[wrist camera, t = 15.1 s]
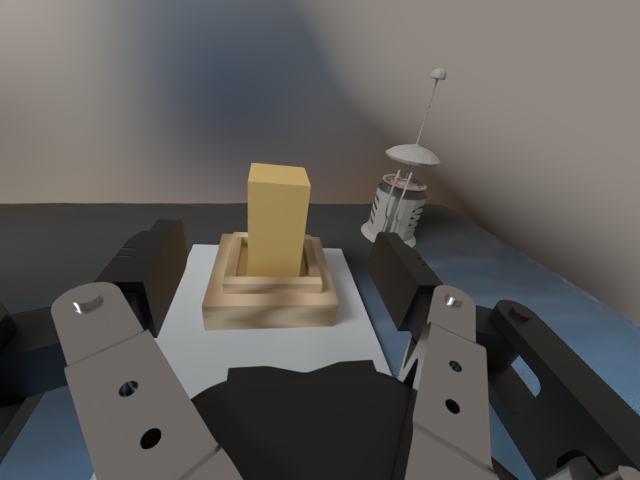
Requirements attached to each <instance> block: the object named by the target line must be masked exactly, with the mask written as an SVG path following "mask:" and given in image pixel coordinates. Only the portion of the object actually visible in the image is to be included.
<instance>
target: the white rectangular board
mask: <svg viewBox="0 0 640 480" xmlns="http://www.w3.org/2000/svg"><path fill="white" fill-rule="evenodd" d="M218 248H219V245H193V247H192V250H191V252H190V254H189V257H188V259H187V265H186V269H185V272H184V274H183V277H182V279H181V281H180V284H179V286H178V289H177V291H176V294H175V296H174V298H173V301H172V303H171V306H170V308H169V311H168V313H167V316H166V318H165V320H164V323H163V325H162V328H161V330H160V333H159V335H158V337H157V338H154V339H155V341H156V343H157V344H158V346H159V348H160V349H161V351H162V353H163V354H164V356H165V358H166V359H167V361H168V363H169V364H170V366H171V368H172V369H173V371H174V373H175V374H176V376H177V378H178V379H179V381H180V383H181V384H182V386H183V388H184V389H185V391H186V393H187V394H188V396H189V398H190V399H191V398H193V397H194V396H196V395H197V394H199V393H200V392H202V391H204V390H205V389H207V388H209V387H211V386H213V385H216V384H218V383H220V382H223V381H226V380H227V374H228V368H235V367H252V366H272V367H277V368H282V369H288V370H293V371H298V372H310V371H313V370H316V369H319V368H322V367H325V366H328V365H331V364H334V363H337V362H340V361H357V360H373V362H374V365H375V368H376V371H378V372H382V373H385V374H388V375H390V376H392V375H391V372H390V370H389V367H388V365H387V362H386V360H385V357H384V355H383V352H382V350H381V347H380V345H379V342H378V340H377V337H376V335H375V332H374V330H373V327H372V325H371V322H370V320H369V317H368V315H367V312H366V310H365V307H364V305H363V302H362V300H361V297H360V295H359V292H358V290H357V288H356V285H355V283H354V280H353V278H352V275H351V273H350V270H349V268H348V265H347V263H346V260H345V258H344V255H343V253H342V250H341V249H329V248H322V249H323V252H324V255H325V259H326V262H327V265H328V269H329V272H330V276H331V279H332V282H333V286H334V289H335V292H336V296H337V299H338V303H339V307H338V311H337V315H336V319H335V323H334V326H331V327H301V328H271V329H241V330H211V331H205V330H204V322H203V314H202V303H203V300H204V297H205V293H206V290H207V286H208V283H209V279H210V276H211V272H212V269H213V266H214V262H215V259H216V255H217V252H218ZM91 480H96V477H95V473H93V475H92V478H91Z"/></svg>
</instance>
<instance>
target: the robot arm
mask: <svg viewBox="0 0 640 480" xmlns="http://www.w3.org/2000/svg"><path fill="white" fill-rule="evenodd" d="M186 265H187V248H186V241H185V233H184V225H183V222H182V220H175V219H158V220H157V221H156V223H155V224H154V225H153V227H152V228H151V230H150V231H141V232H139V233H138V234H136V235H134V236H133V237H131V238H129V240H128V241H127V242H126V243H125V244H124V246H123V247H122V249H120V251H119V252H118V253H117V254H116V257H114V258H113V259H112V260H111V262H110V263H109V264H108V265H107V267H106V268H105V269H104V270H103V271H102V273H101V274H100V275H99V276H98V278H97V279H96V280H95V281H94V283H89V284H85V285H81V286H78V287H76V288H73V289H71V290H69V291H67V292H66V293H64V294H63V295H61V296H60V297H59V298H58V299H57V300H56V301H55V302H54V303H53V305H52V307H47V308H42V309H37V310H32V311H27V312H22V313H17V314H11V315H10V314H9V313H8V311H7V310H6V308H5V307H4V305H2V304H1V303H0V464H1V462H2V460H3V459H4V457H5V456H6V454H7V452H8V451H9V449H10V448H11V446H12V444H13V443H14V441H15V439H16V438H17V436H18V435H19V433H20V431H21V430H22V428H23V427H24V425H25V423H26V422H27V420H28V418H29V417H30V415H31V414H32V412H33V410H34V409H35V407H36V406H37V404H38V402H39V401H40V399H41V397H42V396H43V394H44V393H45V392H47V391H50V390H53V389H56V388H60V387H63V386H66V385H69V389H70V392H71V395H72V399H73V402H74V406H75V409H76V412H77V416H78V419H79V423H80V426H81V429H82V433H83V436H84V439H85V443H86V446H87V450H88V453H89V456H90V460H91V463H92V467H93V470H94V473H95V477H96V480H518V479H517V478H516V477H515V476H514V475H512V474H511V473H510V472H509V471H508V470H507V469H505V468H504V467H503V466H502V465H501V464H500V463H498V462H497V461H496V460H495V459H494V458H493V457H491V443H490V421H489V402H490V404H491V406H492V407H493V409H494V411H495V412H496V414H497V415H498V417H499V419H500V420H501V422H502V424H503V425H504V427H505V429H506V430H507V432H508V434H509V435H510V437H511V438H512V440H513V442H514V443H515V445H516V447H517V448H518V450H519V452H520V453H521V455H522V457H523V458H524V460H525V461H526V463H527V465H528V466H529V468H530V470H531V471H532V473H533V475H534V476H535V478H536V480H640V416H639V415H638V414H637V413H636V412H635V411H634V410H633V409H632V408H631V407H630V406H629V405H628V404H627V403H626V402H625V401H624V400H623V399H622V398H621V397H620V396H619V395H618V394H617V393H616V392H615V391H614V390H613V389H612V388H611V387H610V386H609V385H608V384H607V383H606V382H604V381H603V380H602V379H601V378H600V377H599V376H598V375H597V374H596V373H595V372H594V371H593V370H592V369H591V368H590V367H589V366H588V365H587V364H586V363H585V362H584V361H583V360H582V359H581V358H580V357H579V356H578V355H577V354H576V353H575V352H574V351H573V350H572V349H571V348H570V347H569V346H568V345H567V344H566V343H565V342H564V341H563V340H562V339H561V338H560V337H559V336H558V335H557V334H556V333H555V332H554V331H552V330H551V329H550V328H549V327H548V326H547V325H546V324H545V323H544V322H543V321H542V320H541V319H540V318H539V317H538V316H537V315H536V314H535V313H534V312H533V311H531V310H530V309H528V308H527V307H525V306H523V305H521V304H519V303H517V302H514V301H511V300H500V301H499V302H498V303H497V304H496V306H495V307H494V309H490V308H485V307H481V306H477V305H475V303H474V302H473V300H472V299H471V298H470V297H469V296H468V295H467V294H466V293H464V292H463V291H461V290H459V289H457V288H454V287H452V286H447V285H443V283H442V282H441V281H440V280H439V278H438V277H437V276H436V275H435V273H434V272H433V271H432V270H431V268H430V267H429V266H427V263H426V262H425V261H424V260H422V257H421V256H420V255H419V254H418V252H417V251H416V250H415V249H413V248H412V247H410V246H409V245H408V244H405V242H404V241H403V240H402V239H401V237H400V236H399V235H398V234H397V233H396V232H379V233H378V234H377V236H376V239H375V242H374V245H373V248H372V251H371V255H370V258H369V262H368V269H369V273H370V275H371V277H372V279H373V281H374V283H375V286H376V288H377V290H378V292H379V294H380V296H381V298H382V300H383V302H384V304H385V306H386V308H387V310H388V312H389V314H390V316H391V318H392V320H393V322H394V324H395V326H396V328H397V330H398V331H410V332H411V334H412V335H411V337H410V339H409V341H408V345H407V348H406V352H405V355H404V359H403V362H402V366H401V369H400V373H399V376H398V379H397V378H395V377H392V376H390V375H388V374H385V373H382V372H378V371H376V368H375V365H374V362H373V360H357V361H340V362H337V363H334V364H331V365H328V366H325V367H322V368H319V369H316V370H313V371H310V372H298V371H293V370H288V369H282V368H277V367H272V366H252V367H235V368H228V374H227V380H226V381H223V382H220V383H218V384H216V385H213V386H211V387H209V388H207V389H205V390H204V391H202V392H200V393H199V394H197V395H196V396H194V397H193V398H191V399H190V398H189V396H188V394H187V393H186V391H185V389H184V388H183V386H182V384H181V383H180V381H179V379H178V378H177V376H176V374H175V373H174V371H173V369H172V368H171V366H170V364H169V363H168V361H167V359H166V358H165V356H164V354H163V353H162V351H161V349H160V348H159V346H158V344H157V343H156V341H155V339H154V338H157V337H158V335H159V333H160V330H161V328H162V325H163V323H164V320H165V318H166V316H167V313H168V311H169V308H170V306H171V303H172V301H173V298H174V296H175V294H176V291H177V289H178V286H179V284H180V281H181V279H182V277H183V274H184V272H185V269H186ZM519 355H520V356H521V358H522V359H523V360H524V361H525V363H526V364H527V365H528V366H529V367H530V369H531V370H532V371H533V372H534V374H535V375H536V376H537V378H538V380H539V382H540V386H541V390H540V393H539V394H538V395H537V396H536V397H535V396H534V395H533V394H532V392H531V391H530V390H529V388H528V387H527V386H526V385H525V383H524V382H523V381H522V379H521V378H520V377H519V375H518V374H517V373H516V371H515V370H514V369H513V367H512V366H511V364H512V363H513V362H514V360H515V359H516V358H517V357H518V356H519Z"/></svg>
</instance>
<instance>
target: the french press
mask: <svg viewBox="0 0 640 480" xmlns="http://www.w3.org/2000/svg"><path fill="white" fill-rule="evenodd" d="M445 77H446V72H445V70H444V69H441V68H438V69H435V70H434V71H433V72H432V74H431V78H435V79H436V82H435V85H434V89H433V92H432V95H431V98H430V101H429V105H428V108H427V111H426V114H425V117H424V120H423V124H422V127H421V130H420V133H419V136H418V140H417V143H416V144H413V145H399V146H395V147H392V148H390V149H388V150H387V151H386V154H387V156H388V157H390V158H392V159H394V160H396V161H399V162H403V163H406V164H410V165H409V169H408V172H407V175H406V177H405V176H403V175H400V172H401V171H400V170H399V171H398V173H397V175H396V174H395V175H394V174H388V175H385V176H383V182H384V183H381V184H379V186H378V189H377V195H378V196H377V195H376V196H375V202H374V204H373V209H372V211H371V215H370V219H369V222H367V223H365V224H364V225H362V229H361V231H362V233H363V235H364V236H365V237H366V238H368V239H369V240H370V241H371V242H375V239H376V236H377V234H378V233H379V232H396V233H397V234H398V235H399V236H400V237H401V239H402V240H403V241H404V242H405V244H408V245H409V246H410V247H413V246H414V245H415V244H416V239H415V237H414V235H413V233H414V231H415V229H413V228H414V227H415V226H416V225H417V223H418V222H415V221H416V220H418V219H419V217H420V215H419V216H418V215H417V214H419V213H421V212H422V209H423V208H422V209H419V207H420V206H422V205H424V204H425V201H426V198H427V197H426V195H425V194H424V193H423V192H424V191H425V190H427V189H428V188H427V185H426V184H425V183H422V182H421V181H420V180H419V181H418V180H416V179H413V178H411V176H412V173H410V175H409V177H407V176H408V173H409V170H410V167H411V165H415V166H425V167H432V166H436V165H438V164H439V163H440V161H439V159H438V158H437V156H436V155H435V154H433V153H432V152H431V151H429V150H427V149H425V148H423V147H420V146H419V145H418V142H419V138H420V135H421V132H422V129H423V126H424V122H425V119H426V116H427V113H428V110H429V107H430V103H431V100H432V97H433V94H434V91H435V88H436V85H437V82H438V80H439V79H443V80H444V79H445ZM388 194H390V195H388ZM377 200H378V201H379V204H378V201H377ZM375 207H377V210H376V209H375ZM413 210H414V211H416V212H414V213H412V211H413ZM373 213H375V216H374V215H373ZM411 217H413V218H415V219H413V220H410V218H411ZM409 224H412V226H410V227H409V226H408V225H409Z"/></svg>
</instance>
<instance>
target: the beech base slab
mask: <svg viewBox="0 0 640 480" xmlns="http://www.w3.org/2000/svg"><path fill="white" fill-rule="evenodd" d="M338 307H339V303H338V299H337V296H336V292H335V289H334V286H333V282H332V279H331V276H330V272H329V269H328V265H327V262H326V259H325V255H324V252H323V249H322V245H321V242H320V239H319V237H311V235H304V243H303V251H302V258H301V266H300V274H299V277H248V233H246V232H234V234H222V238H221V241H220V245H219V248H218V252H217V255H216V259H215V262H214V266H213V269H212V272H211V276H210V279H209V283H208V286H207V290H206V293H205V297H204V300H203V303H202V314H203V322H204V330H205V331H211V330H241V329H271V328H301V327H331V326H334V323H335V319H336V315H337V311H338Z"/></svg>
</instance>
